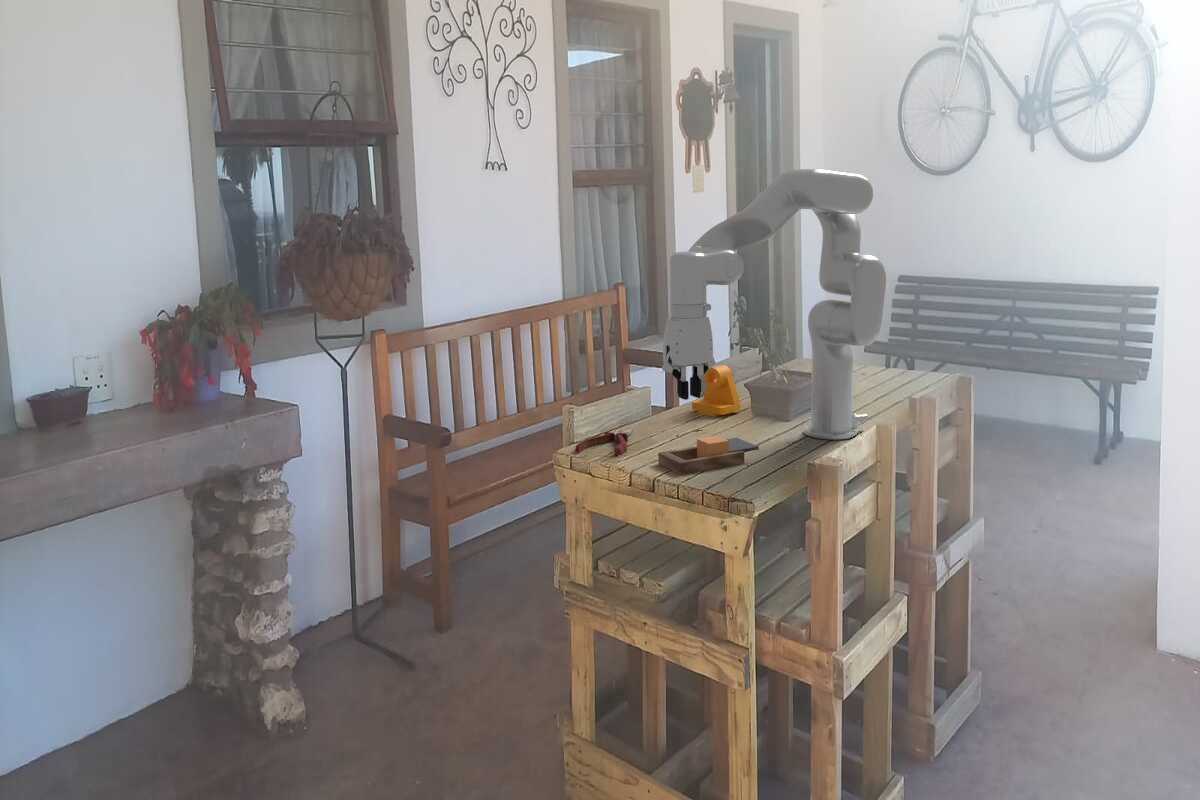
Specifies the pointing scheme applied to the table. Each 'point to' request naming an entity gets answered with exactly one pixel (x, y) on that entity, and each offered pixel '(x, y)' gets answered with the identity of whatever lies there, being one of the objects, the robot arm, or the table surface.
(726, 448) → the orange block
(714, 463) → the brown wooden tray
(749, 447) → the rubber mat
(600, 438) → the pliers
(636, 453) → the table surface
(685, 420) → the table surface
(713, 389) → the bracket
